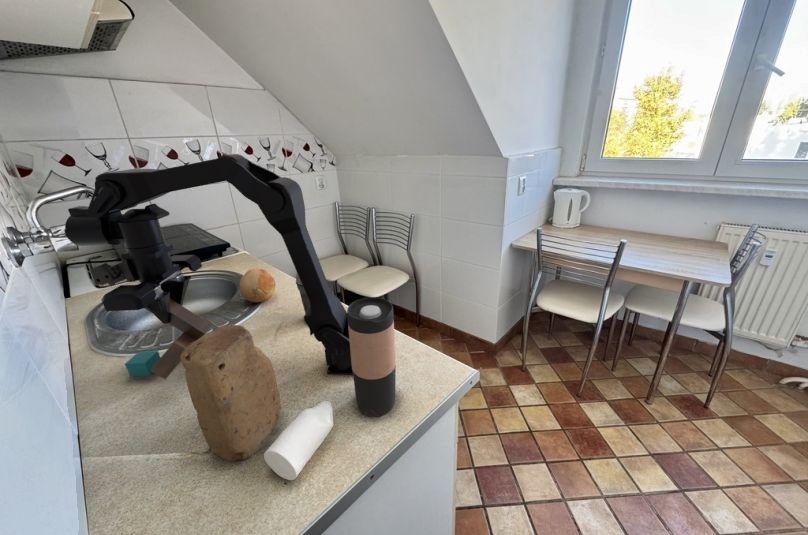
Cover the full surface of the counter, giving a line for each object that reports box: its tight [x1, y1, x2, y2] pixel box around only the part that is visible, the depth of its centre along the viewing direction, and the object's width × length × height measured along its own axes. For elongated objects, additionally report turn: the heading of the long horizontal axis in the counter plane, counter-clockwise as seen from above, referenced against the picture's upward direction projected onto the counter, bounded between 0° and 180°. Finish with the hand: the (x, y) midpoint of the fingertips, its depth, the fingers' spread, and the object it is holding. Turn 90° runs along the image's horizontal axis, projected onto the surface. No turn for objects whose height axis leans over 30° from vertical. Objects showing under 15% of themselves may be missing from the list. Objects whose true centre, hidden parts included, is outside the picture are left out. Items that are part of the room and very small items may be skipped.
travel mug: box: [346, 296, 397, 418], centre depth 56 cm, size 8×8×20 cm
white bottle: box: [263, 400, 334, 481], centre depth 51 cm, size 6×12×6 cm, turn 156°
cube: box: [124, 350, 161, 378], centre depth 67 cm, size 4×4×4 cm
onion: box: [239, 268, 276, 303], centre depth 95 cm, size 10×10×10 cm
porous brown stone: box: [180, 324, 282, 462], centre depth 50 cm, size 11×8×20 cm
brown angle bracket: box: [144, 299, 214, 380], centre depth 64 cm, size 12×9×13 cm
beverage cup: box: [295, 273, 310, 315], centre depth 83 cm, size 7×7×20 cm
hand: (172, 318), depth 63 cm, fingers closed on brown angle bracket, 3 cm apart
